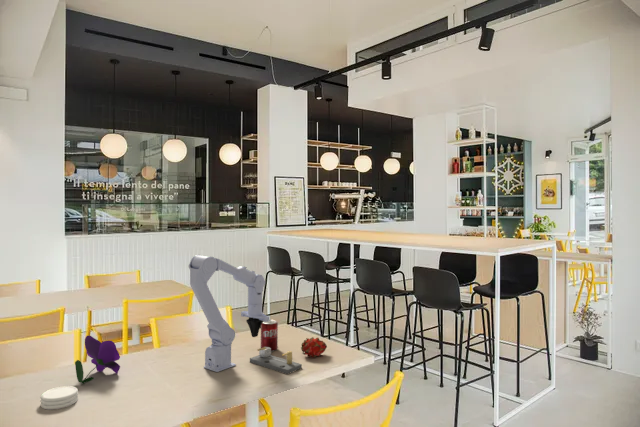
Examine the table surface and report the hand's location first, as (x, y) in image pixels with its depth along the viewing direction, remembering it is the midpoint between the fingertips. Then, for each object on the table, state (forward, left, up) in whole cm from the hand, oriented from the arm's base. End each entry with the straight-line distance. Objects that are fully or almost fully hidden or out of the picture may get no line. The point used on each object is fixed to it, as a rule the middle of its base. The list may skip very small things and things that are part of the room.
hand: (254, 336), depth 180 cm
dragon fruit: (+16, -18, -9) cm, 26 cm away
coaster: (-68, +16, -9) cm, 70 cm away
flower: (-51, +27, -9) cm, 59 cm away
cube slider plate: (-2, -13, -8) cm, 16 cm away
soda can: (+10, +2, -9) cm, 14 cm away
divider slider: (-1, -6, -7) cm, 9 cm away
